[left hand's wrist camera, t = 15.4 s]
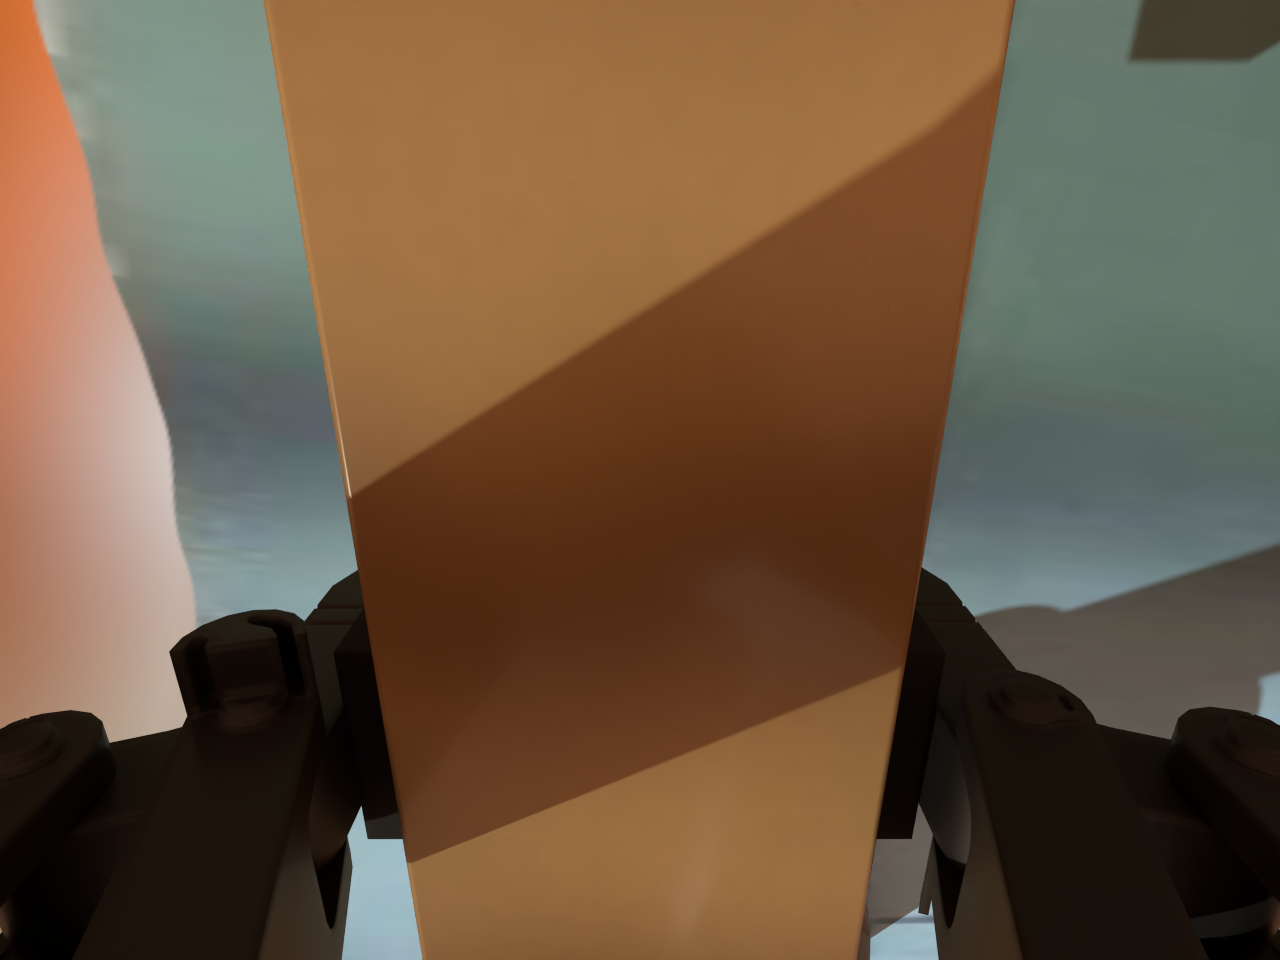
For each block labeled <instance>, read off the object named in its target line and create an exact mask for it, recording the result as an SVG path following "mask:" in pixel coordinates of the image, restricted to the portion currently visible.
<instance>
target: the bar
mask: <svg viewBox="0 0 1280 960" xmlns="http://www.w3.org/2000/svg"><path fill="white" fill-rule="evenodd" d="M1014 4H1015V0H264V6H265V12H266V18H267V24H268V30H269V36H270V42H271V48H272V54H273V60H274V67H275V73H276V79H277V85H278V91H279V97H280V103H281V109H282V115H283V121H284V127H285V133H286V139H287V145H288V151H289V157H290V163H291V169H292V175H293V181H294V187H295V193H296V199H297V205H298V211H299V217H300V223H301V229H302V235H303V241H304V247H305V253H306V259H307V265H308V271H309V277H310V283H311V289H312V295H313V301H314V307H315V313H316V319H317V326H318V332H319V338H320V344H321V350H322V356H323V362H324V368H325V374H326V380H327V386H328V392H329V398H330V404H331V410H332V416H333V422H334V428H335V434H336V440H337V446H338V452H339V458H340V464H341V470H342V476H343V482H344V488H345V494H346V500H347V506H348V512H349V518H350V524H351V530H352V536H353V542H354V548H355V554H356V560H357V566H358V572H359V578H360V584H361V591H362V597H363V603H364V609H365V615H366V621H367V627H368V633H369V639H370V645H371V651H372V657H373V663H374V669H375V675H376V681H377V687H378V693H379V699H380V705H381V711H382V717H383V723H384V729H385V735H386V741H387V747H388V753H389V759H390V765H391V771H392V777H393V783H394V789H395V795H396V801H397V807H398V813H399V819H400V825H401V831H402V837H403V843H404V849H405V856H406V862H407V868H408V874H409V880H410V886H411V892H412V898H413V904H414V910H415V916H416V922H417V928H418V934H419V940H420V946H421V952H422V958H423V960H856V959H857V953H858V947H859V941H860V935H861V929H862V923H863V917H864V911H865V905H866V899H867V893H868V887H869V881H870V875H871V869H872V863H873V857H874V851H875V845H876V839H877V832H878V826H879V820H880V814H881V808H882V802H883V796H884V790H885V784H886V778H887V772H888V766H889V760H890V754H891V748H892V742H893V736H894V730H895V724H896V718H897V712H898V706H899V699H900V693H901V687H902V681H903V675H904V669H905V663H906V657H907V651H908V645H909V639H910V633H911V627H912V621H913V615H914V609H915V603H916V597H917V591H918V585H919V579H920V573H921V567H922V560H923V554H924V548H925V542H926V536H927V530H928V524H929V518H930V512H931V506H932V500H933V494H934V488H935V482H936V476H937V470H938V464H939V458H940V452H941V446H942V440H943V434H944V428H945V421H946V415H947V409H948V403H949V397H950V391H951V385H952V379H953V373H954V367H955V361H956V355H957V349H958V343H959V337H960V331H961V325H962V319H963V313H964V307H965V301H966V295H967V288H968V282H969V276H970V270H971V264H972V258H973V252H974V246H975V240H976V234H977V228H978V222H979V216H980V210H981V204H982V198H983V192H984V186H985V180H986V174H987V168H988V162H989V156H990V149H991V143H992V137H993V131H994V125H995V119H996V113H997V107H998V101H999V95H1000V89H1001V83H1002V77H1003V71H1004V65H1005V59H1006V53H1007V47H1008V41H1009V35H1010V29H1011V23H1012V16H1013V10H1014Z"/></svg>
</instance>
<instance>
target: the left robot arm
mask: <svg viewBox="0 0 1280 960" xmlns="http://www.w3.org/2000/svg"><path fill="white" fill-rule="evenodd" d="M169 652H170V656H171V660H172V663H173V667H174V670H175V674H176V677H177V681H178V684H179V688H180V691H181V695H182V699H183V702H184V705H185V709H186V713H187V718H186V720H185V722H184V724H183V726H182V727H181V728H177V729H173V730H170V731H166V732H160V733H155V734H151V735H146V736H141V737H136V738H131V739H126V740H122V741H117V742H112V743H109V740H108V738H107V734H106V732H105V729H104V726H103V723H102V721H101V720H100V719H98V718H97V717H96V716H94V715H93V714H92V713H88V712H81V711H73V710H68V711H60V712H52V713H45V714H40V715H35V716H31V717H30V718H28V719H26V718H24V719H21V720H18V721H16V722H13V723H11V724H8V725H7V726H6V727H4V728H2V729H0V928H1V930H2V933H1V934H0V960H342V951H343V943H344V934H345V926H346V918H347V909H348V901H349V892H350V884H351V876H352V860H351V853H350V847H349V842H348V837H347V835H348V833H349V831H350V829H351V827H352V825H353V822H354V820H355V818H356V816H357V814H358V812H359V809H360V807H361V805H362V811H363V816H364V821H365V827H366V832H367V838H368V839H403V837H402V831H401V825H400V819H399V813H398V807H397V801H396V795H395V789H394V783H393V777H392V771H391V765H390V759H389V753H388V747H387V741H386V735H385V729H384V723H383V717H382V711H381V705H380V699H379V693H378V687H377V681H376V675H375V669H374V663H373V657H372V651H371V645H370V639H369V633H368V627H367V621H366V615H365V609H364V603H363V597H362V591H361V584H360V578H359V572H358V570H357V571H355V572H354V573H352V574H351V575H349V576H347V577H346V578H344V579H343V580H341V581H340V582H338V583H336V584H335V585H333V586H332V587H331V589H330V590H329V591H328V592H327V594H326V595H325V596H324V597H323V599H322V600H321V601H320V602H319V604H318V608H317V609H314V610H313V611H312V613H311V614H310V615H309V616H308V618H307V619H306V620H305V621H303V620H302V619H301V618H300V617H298V616H297V615H296V614H294V613H291V612H286V611H281V610H276V609H273V610H252V611H247V612H242V613H237V614H233V615H228V616H225V617H223V618H220V619H217V620H215V621H212V622H210V623H207V624H204V625H202V626H200V627H199V628H197V629H196V630H194V631H192V632H191V633H189V634H187V635H186V636H184V637H182V639H180V641H179V642H178V643H177V644H176V645H175V646H174V647H173V648H172V649H171V650H170V651H169ZM918 802H919V805H920V807H921V809H922V811H923V813H924V815H925V818H926V820H927V822H928V824H929V826H930V828H931V831H932V833H933V837H932V842H931V847H930V852H929V857H928V862H927V867H926V872H925V877H924V882H923V887H922V892H921V898H920V905H919V912H918V913H921V914H926V915H928V914H929V909H930V904H931V899H932V907H933V916H934V924H935V932H936V941H937V949H938V958H939V960H1280V930H1279V929H1278V928H1279V926H1280V725H1278V724H1276V723H1274V722H1273V721H1271V720H1269V719H1266V718H1263V717H1261V716H1258V715H1251V713H1247V712H1243V711H1238V710H1231V709H1223V708H1215V707H1204V708H1197V709H1189V710H1188V711H1187V712H1186V713H1184V714H1183V715H1182V716H1180V717H1179V718H1178V721H1177V724H1176V727H1175V730H1174V733H1173V735H1172V738H1171V740H1170V739H1165V738H1160V737H1155V736H1150V735H1145V734H1140V733H1135V732H1130V731H1126V730H1121V729H1116V728H1111V727H1107V726H1104V725H1100V724H1097V723H1096V721H1095V719H1094V717H1093V715H1092V713H1091V712H1090V711H1089V710H1088V708H1087V707H1086V706H1085V704H1084V703H1083V702H1082V701H1081V699H1079V698H1078V697H1076V696H1075V695H1074V694H1072V693H1071V692H1069V691H1068V690H1067V689H1065V688H1064V687H1062V686H1061V685H1058V684H1056V683H1054V682H1052V681H1049V680H1047V679H1045V678H1043V677H1040V676H1038V675H1034V674H1030V673H1026V672H1022V671H1018V670H1016V669H1015V667H1014V666H1013V665H1012V664H1011V663H1010V661H1009V660H1008V659H1007V658H1006V656H1005V655H1004V654H1003V653H1002V651H1001V650H1000V649H999V648H998V646H997V645H996V644H995V643H994V641H993V640H992V639H991V638H990V636H989V635H988V634H987V633H986V631H985V630H984V629H983V628H982V626H981V625H980V624H979V623H978V622H975V618H974V616H973V615H972V614H971V613H970V611H969V610H968V609H967V608H966V606H962V601H961V600H960V599H959V598H958V596H957V595H956V594H955V593H954V591H953V590H952V589H951V588H950V586H949V585H948V584H947V583H946V582H944V581H943V580H941V579H939V578H938V577H936V576H935V575H933V574H931V573H930V572H928V571H927V570H925V569H923V568H922V567H921V573H920V579H919V585H918V591H917V597H916V603H915V609H914V615H913V621H912V627H911V633H910V639H909V645H908V651H907V657H906V663H905V669H904V675H903V681H902V687H901V693H900V699H899V706H898V712H897V718H896V724H895V730H894V736H893V742H892V748H891V754H890V760H889V766H888V772H887V778H886V784H885V790H884V796H883V802H882V808H881V814H880V820H879V826H878V832H877V839H912V835H913V829H914V824H915V819H916V813H917V808H918ZM856 960H870V924H869V917H868V910H867V907H866V905H865V911H864V917H863V923H862V929H861V935H860V941H859V947H858V953H857V959H856Z"/></svg>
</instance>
